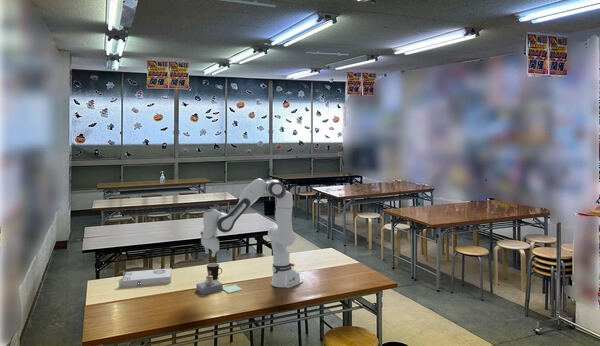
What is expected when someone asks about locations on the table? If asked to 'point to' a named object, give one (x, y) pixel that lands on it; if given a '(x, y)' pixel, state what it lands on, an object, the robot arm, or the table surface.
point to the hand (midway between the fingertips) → (210, 255)
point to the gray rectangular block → (209, 287)
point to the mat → (231, 289)
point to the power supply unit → (146, 277)
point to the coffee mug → (213, 270)
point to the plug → (209, 280)
